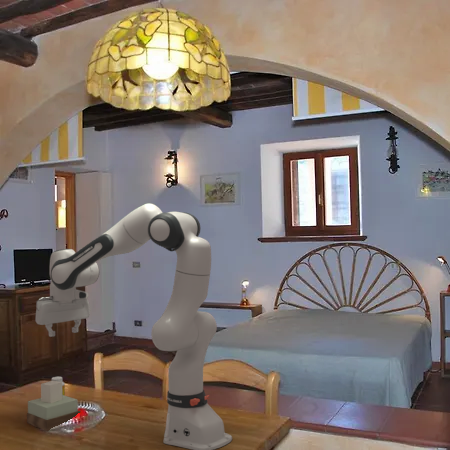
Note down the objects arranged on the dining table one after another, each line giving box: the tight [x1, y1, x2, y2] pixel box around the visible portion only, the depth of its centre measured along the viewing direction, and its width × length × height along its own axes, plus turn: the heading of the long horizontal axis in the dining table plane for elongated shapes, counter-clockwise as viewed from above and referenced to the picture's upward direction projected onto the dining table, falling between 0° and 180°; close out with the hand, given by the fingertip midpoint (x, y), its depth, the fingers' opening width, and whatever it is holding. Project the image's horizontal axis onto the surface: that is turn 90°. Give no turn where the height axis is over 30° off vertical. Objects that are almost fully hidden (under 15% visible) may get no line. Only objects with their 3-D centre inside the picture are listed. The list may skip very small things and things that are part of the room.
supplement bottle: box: [51, 376, 66, 396], centre depth 217 cm, size 6×6×10 cm
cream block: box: [40, 380, 63, 403], centre depth 197 cm, size 5×5×6 cm
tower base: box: [26, 410, 82, 432], centre depth 196 cm, size 13×13×4 cm
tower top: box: [27, 395, 79, 420], centre depth 197 cm, size 12×12×4 cm
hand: (63, 334), depth 200 cm, fingers open, 8 cm apart
